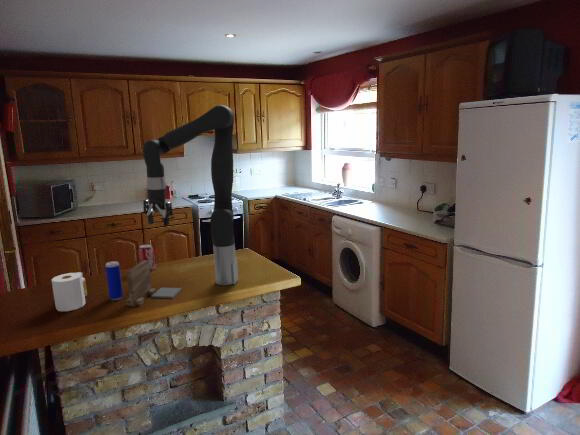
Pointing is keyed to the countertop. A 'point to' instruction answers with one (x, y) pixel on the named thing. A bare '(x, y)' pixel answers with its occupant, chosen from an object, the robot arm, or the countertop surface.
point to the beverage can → (114, 280)
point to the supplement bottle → (83, 284)
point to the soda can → (147, 255)
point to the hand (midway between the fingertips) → (158, 224)
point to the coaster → (166, 293)
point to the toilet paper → (68, 291)
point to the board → (139, 284)
